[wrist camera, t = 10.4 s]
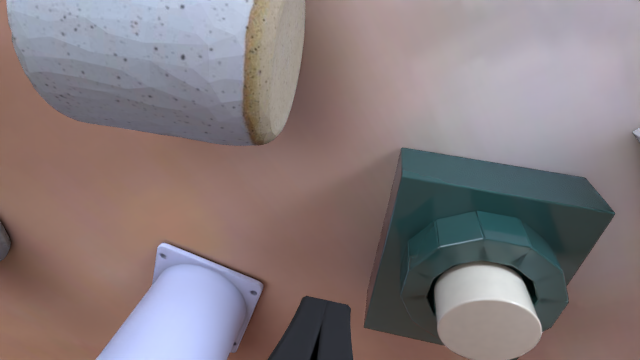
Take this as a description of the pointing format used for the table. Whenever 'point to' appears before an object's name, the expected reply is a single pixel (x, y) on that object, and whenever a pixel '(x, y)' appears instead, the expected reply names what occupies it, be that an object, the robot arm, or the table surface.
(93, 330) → the table surface
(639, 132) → the tray
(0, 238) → the spray can
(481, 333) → the white push button
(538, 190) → the dark green button base
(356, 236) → the table surface
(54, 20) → the ceramic mug
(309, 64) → the table surface
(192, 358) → the robot arm
